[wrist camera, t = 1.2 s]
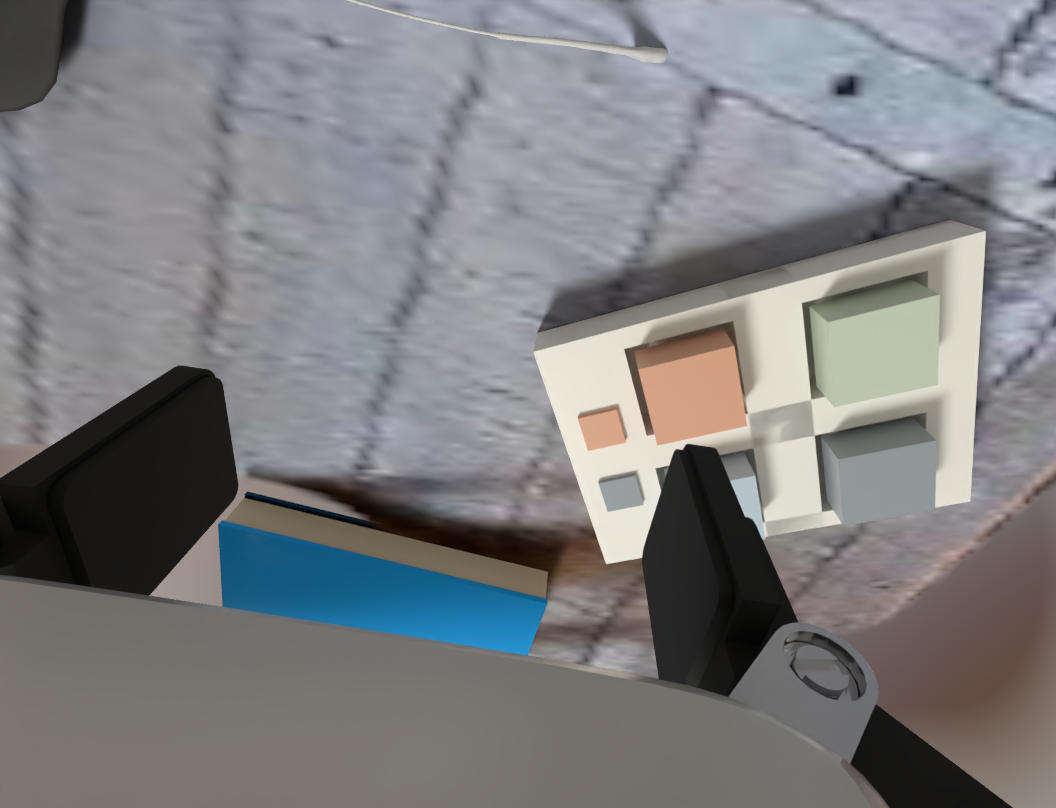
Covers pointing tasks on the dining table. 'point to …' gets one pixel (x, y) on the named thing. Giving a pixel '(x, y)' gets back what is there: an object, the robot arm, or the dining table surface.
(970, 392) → the keypad
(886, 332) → the key sage
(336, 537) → the book
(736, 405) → the key terracotta
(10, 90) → the casserole
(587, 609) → the dining table surface
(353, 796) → the robot arm
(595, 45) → the eyeglasses
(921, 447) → the key slate
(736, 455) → the key blue
